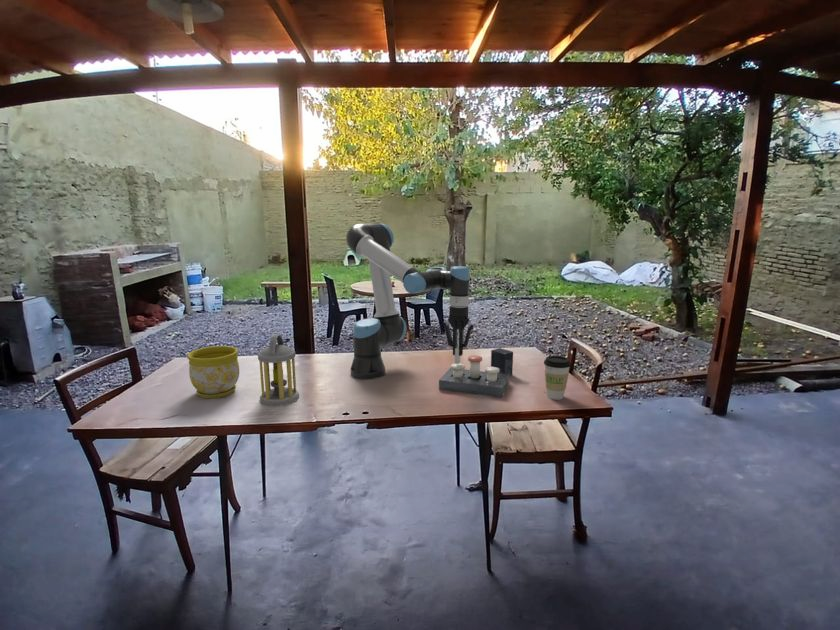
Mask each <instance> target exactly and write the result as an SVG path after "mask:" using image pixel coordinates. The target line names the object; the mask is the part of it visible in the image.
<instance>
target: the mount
mask: <svg viewBox="0 0 840 630" xmlns="http://www.w3.org/2000/svg"><path fill="white" fill-rule="evenodd" d="M509 384H510V376H509V374H501V373H497V382H493V381H487V373H486V372H485V371H482V370H480V377H479V378H471V377H470V369H463V378H459V377H453V369H452V368H451V367H449V368H448V369H447V371H446V372H445V373H444V374H443V375H442V377H440V378H439V380H438V390H439V391H446V392H454V393H463V394H470V395H478V396H484V397H485V396H486V397H491V398H492V397H493V398H503V396H504V394H505V392H506V390H507V388H508V386H509Z"/></svg>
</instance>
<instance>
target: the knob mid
mask: <svg viewBox="0 0 840 630" xmlns="http://www.w3.org/2000/svg"><path fill="white" fill-rule="evenodd" d="M467 360H468V361H469V370H470V377H471V378H479V377H480V371H481V362H482V361H483V356H481V355H469V356H467Z"/></svg>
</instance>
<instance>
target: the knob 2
mask: <svg viewBox="0 0 840 630" xmlns="http://www.w3.org/2000/svg"><path fill="white" fill-rule="evenodd" d="M484 372H486V373H487V381H493V382H497V373H499V368H497V367H491V366H487V367H485V369H484Z"/></svg>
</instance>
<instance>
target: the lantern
mask: <svg viewBox="0 0 840 630" xmlns="http://www.w3.org/2000/svg"><path fill="white" fill-rule="evenodd" d="M295 357H296V351H295V350H294V349H293V348H292V347H291V346H288V345H285V344H284V339H283V337H282V335H281V334H279V333H278V334H275V333H274V334H272V335H271V337H270V340H269V345H268V346H266V347H264V348H262V349H261V351H259V352H258V354H257V359H258V361H259V371H260V373H259V374H260V385H261V395H260V396H259V402H260V404H263V405H264V406H268V407H270V406H271V407H279V406H280V407H281V406H285V405H290V404H292V403H295V402H296V401H298V400H299V398H300V393H299V391H298V390H297V380H296V379H297V378H296V361H295ZM284 362H285V363H286V375H287V376H286V378H287V380H286V379H284V369H283V363H284ZM291 363H292V364H291ZM269 364H272V366H273V367H272V368H273V369H272V376H273V380H271V376H270V365H269ZM285 386H287V387H285ZM271 387H272V388H271Z"/></svg>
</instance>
